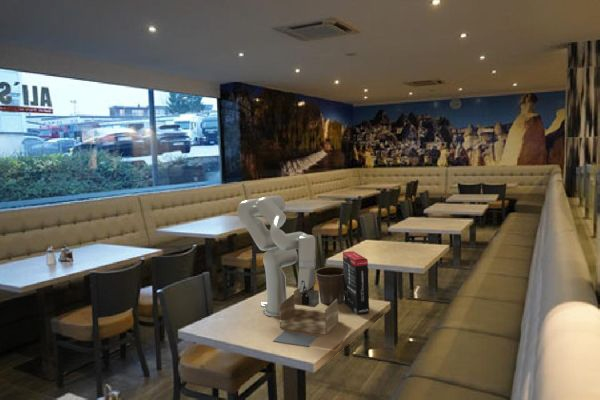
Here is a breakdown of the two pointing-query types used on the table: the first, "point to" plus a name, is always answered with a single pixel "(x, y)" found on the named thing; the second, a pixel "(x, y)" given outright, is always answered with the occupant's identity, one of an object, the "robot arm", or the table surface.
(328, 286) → the plant pot
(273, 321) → the table surface
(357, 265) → the graphics card box
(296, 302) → the walnut block
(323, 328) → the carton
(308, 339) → the rubber mat
